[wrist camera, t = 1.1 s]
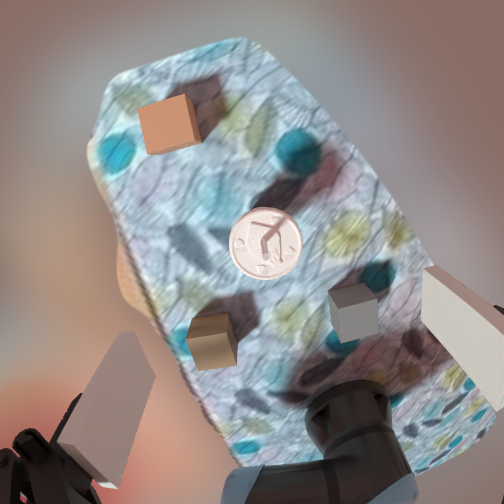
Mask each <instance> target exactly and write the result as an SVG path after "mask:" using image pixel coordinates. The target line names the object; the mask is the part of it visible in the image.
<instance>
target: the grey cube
mask: <svg viewBox="0 0 504 504" xmlns="http://www.w3.org/2000/svg"><path fill="white" fill-rule="evenodd" d="M328 298H329V306H330V314H331V323H332V325H333V328H334V330H335V332H336V334H337V336H338V338H339V340H340V342H341V343H344V342H348V341H352V340H356V339H359V338H363V337H366V336H370V335H373V334H377V333H378V298H377V297H376V296H375V295H374V294H373V293H372V291H371V290H370V289H369V288H368V287H367V286H366V284H365V283H364V282H363V283H359V284H355V285H351V286H347V287H343V288H339V289H334V290H330V291H328Z"/></svg>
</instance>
